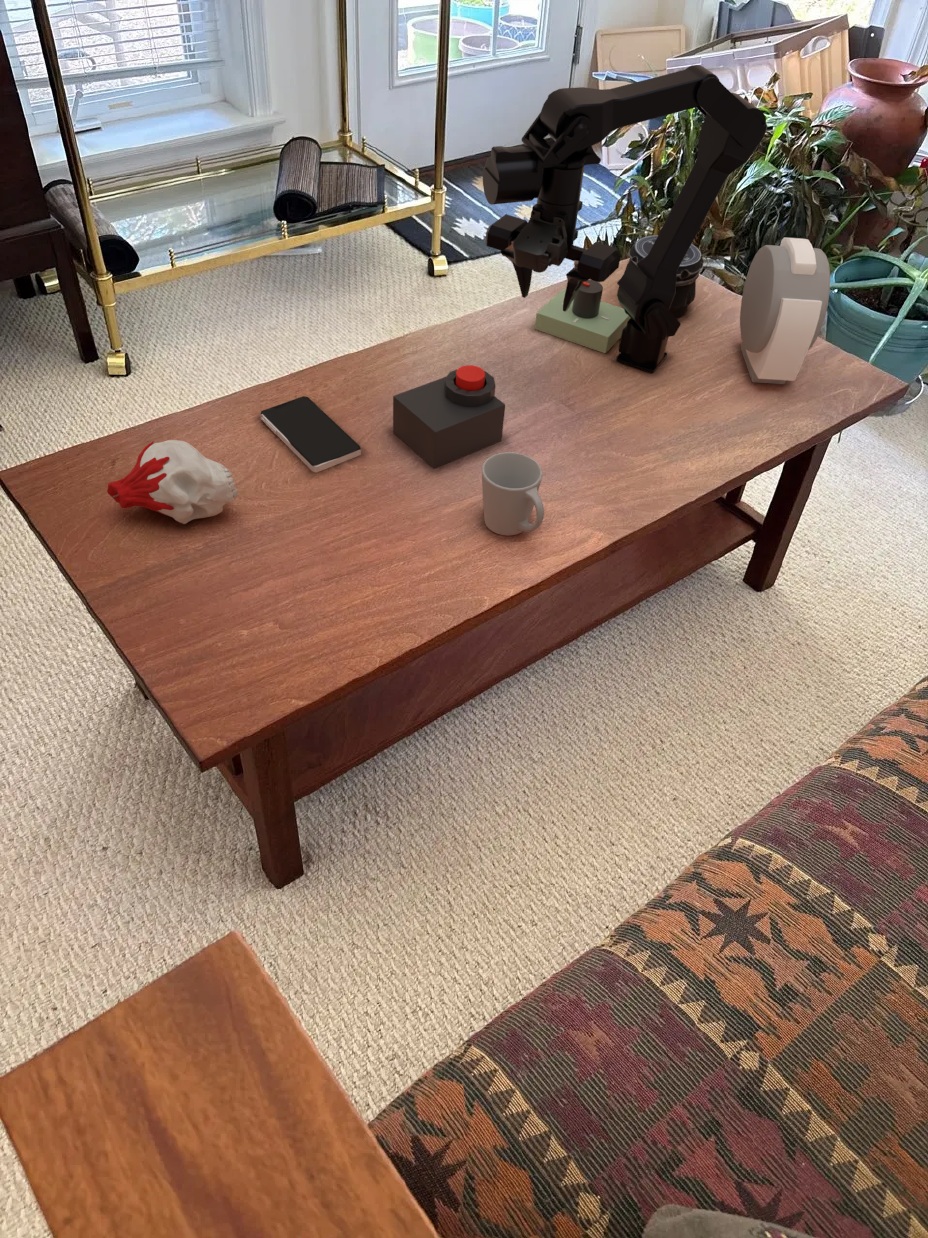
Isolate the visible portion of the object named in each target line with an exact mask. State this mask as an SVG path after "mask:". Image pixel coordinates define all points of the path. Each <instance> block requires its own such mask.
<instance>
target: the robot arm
mask: <svg viewBox="0 0 928 1238" xmlns="http://www.w3.org/2000/svg"><path fill="white" fill-rule="evenodd" d="M695 108H696V109H697V110H698V111H699V112H700V114H702V115H703V116H704V119H703V121H702V124H701V127H700V131H699V134H698V144H697V145H698V146H697V157H696V160H695V163H694V165H693V167H692V168H691V169H690V172H689V174H688V176H687V179H686V180H685V182H684V184H683V186H682V188H681V190H680V192H679V194H678V195H677V198H676V200H675V201H674V203H673V205H672V207H671V210H670V211H669V213H668V215H667V217H666V219H665V221H664V223H663V225H662V227H661V229H660V231H659V233H658V234H657V235H658V237H657V239H656V241H655V243H654V245H653V247H652V248H651V250H650V252H649V254H648V255H647V256H646V257H645V258H643V259H642V260H640V261H639V262H638V263H636V262H634V261H632V260H631V261H629V260H628V262H629V263H628V262H627V265H626V266H625V269H624V272H623V274H622V276H621V277H620V279H619V280H618V281H617V282H616V284H617V285H618V289H617V290H616V296H617V299H618V303H619V304H620V305H621V306H622V308H624V311H625V313H626V314H628V315H629V317H630V320H629V321H628V322H627V325H626V326H625V327H624V328H623V330H622V335H621V337H620V339H619V345H618V353H619V354H618V355H617V356H616V359H615V361H616V362H618V363H621V364H624V365H626V366H629V367H632V368H635V369H638V370H641V371H644V372H647V373H650V374H653V373H655V371H657V369H658V368H659V367H660V365H662V363H663V362H664V361H665V360H666V359H667V357H668V352H666V350H667V345H668V341H669V337H670V338H671V337H674V336H675V335H676V334H677V332H678V330H679V328H680V327H681V322H680V321H679V320H678V318H675V316H674V315H673V314H672V313H671V312H670V311H669V309H670V306H671V303H672V301H673V298H674V296H675V291H676V278H677V271H678V268H679V266H680V264H681V262H682V260H683V259H684V257H685V255H686V253H687V251H688V249H689V247H690V246H691V244H693V242H694V240H695V238H696V237H697V235H698V233H699V231H700V229H701V227H702V226H703V223H704V221H705V220H706V218H707V216H708V214H709V212H710V210H711V209H712V206H713V204H714V203H715V201H716V199H717V197H718V195H719V193H720V191H721V190H722V188H723V186H724V184H725V182H726V180H727V179H728V177H729V176H730V175H731V174H732V173H734V172H735V171H736V170H738V169H739V168H740V167H741V166H743V165H744V164H746V163H747V162H748V161H749V159H750V158H751V157H752V155H753V154H754V153H755V151H756V150H757V148H758V147H759V145H760V144H761V143H762V141H763V139H764V138H765V135H766V133H767V129H768V123H767V117H766V115H765V113H764V112H763V111H762V110H761V109H759V108H758V107H757V106H755V105H754V104H752V103H751V102H750V101H748V100H747V99H745V98H743V96H741V95H740V94H738V93H737V92H731V91H730V90H729V89H728V88H727V87H726V86H725V85H724V84H723V83H722V82H721V81H720V79H719V77H718V76H717V75H716V74H715V73H713V72H711V71H710V70H709V69H708V68H707V67H704V66H702V65H700V64H694V65H690V66H688V67H686V68H685V69H682V70H679V71H675V72H671V73H666V74H663V75H659V76H655V77H651V78H647V79H643V80H639V81H636V82H632V83H628V84H624V85H621V86H620V85H619V86H616V87H613V88H605V89H604V88H603V89H600V88H594V87H593V88H592V87H584V86H581V87H580V86H579V87H563V88H558V89H556V90H554V91H552V92H550V93H549V94H548V95H547V98H546V100H545V101H544V102H543V105H542V107H541V109H540V112H539V113H538V115H537V116H536V118H535V119H534V121H533V122H532V123H531V125H530V126H529V128H528V129H527V130H526V131H525V133H524V135H523V136H522V137H521V143H522V144H523V145H518V146H502V145H498V146H497V145H496V146H492V147H491V150H490V156H488V157H487V159H486V161H485V165H484V167H482V188H483V193H484V196H485V200H486V201H487V203H488V204H489V205H502V204H503V205H504V204H513V203H514V204H515V203H521V202H522V203H525V202H532V201H533V200H534V199H536V203H535V204H534V205H533V206H532V209H531V212H530V217H529V219H528V221H527V220H526V219H524V218H520V217H517V216H513V215H511V214H507V213H506V214H504V215H503V216H502V217H500V218H499V219H497V220H496V221H494V222H493V223H491V225H489V226H488V227H487V229H486V231H485V243H484V244H485V246H486V247H488V248H491V249H494V250H498V251H500V255H501V256H502V257H505V258H506V259H508V260H509V262H511V264H512V266H513V269H514V272H515V274H516V278H517V282H518V287H519V290H520V294H521V296H522V298H523V299H526V298H527V297H528V296H529V292H530V288H531V283H532V277H533V272H534V273H539V274H541V273H544V272H545V271H546V270H547V269H548V267H551V266H553V265H554V266H557V267H560V266H561V265H562V263H563V262H564V260H565V259H566V260H569V261H573V268H571V269H570V270H569V271H568V272H567V273H566V274H565V276H566V279H567V283H566V287H565V289H566V292H565V297H564V301H563V311H566V310H568V308H569V306H570V305H571V303H572V301H573V299H574V298H575V296H576V294H577V292H578V291H579V289H580V287H581V285H582V284H583V282H585V281H588V280H593V281H596V282H599V283H603V282H605V281H606V280H607V279H609V277H610V276H611V275H613V274H614V273H615V272H616V271H617V270H618V269H619V267H620V262H621V254H620V252H619V251H620V250H619V249H618V248H617V247H613V246H610V245H608V244H604V243H601V242H598V241H594V242H593V243H592V244H591V245H590V246H589V247H588V248H586V247H585V248H584V247H580V246H578V245H574V242H575V241H576V240H577V239H578V235H579V230H577V222H578V214H579V212H580V211H581V210H582V208H583V203H584V202H583V201H582V200H581V193H582V186H583V178H584V172H585V166H588V165H589V166H591V165H599V164H600V163H602V158H601V157H600V156H599V155H598V154H597V153H596V152H595V150H594V148H593V146H595V145H596V144H599V143H600V142H603V141H604V140H605V139H606V138H607V137H608V136H609V135H610V134H612V132H614V131H616V130H618V129H620V128H623V127H627V126H632V125H635V124H638V123H639V124H640V123H642V122H646V121H651V120H654V119H658V118H661V117H662V118H663V117H667V116H669V115H673V114H677V113H680V112H684V111H689V110H692V109H695ZM548 136H549V137H550V138H551V139H552V140H553V141H554V142H553V144H552V145H551V144H550V143H549V142H548V141H547V140H546V139H545V138H546V137H548Z"/></svg>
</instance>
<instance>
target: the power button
mask: <svg viewBox="0 0 928 1238" xmlns="http://www.w3.org/2000/svg"><path fill="white" fill-rule="evenodd" d="M457 369H458V370H457ZM457 369H456V370H457V371H456V386H457V387H458V388H460V389H463V390H466V391H477V390H480V389H482V388H483V387H484V383H485V372H484V371H485V370H484V369H482V367H480V366H477V365H469V364H468V365H467V364H466V365H462V366H460V367H458V368H457Z"/></svg>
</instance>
